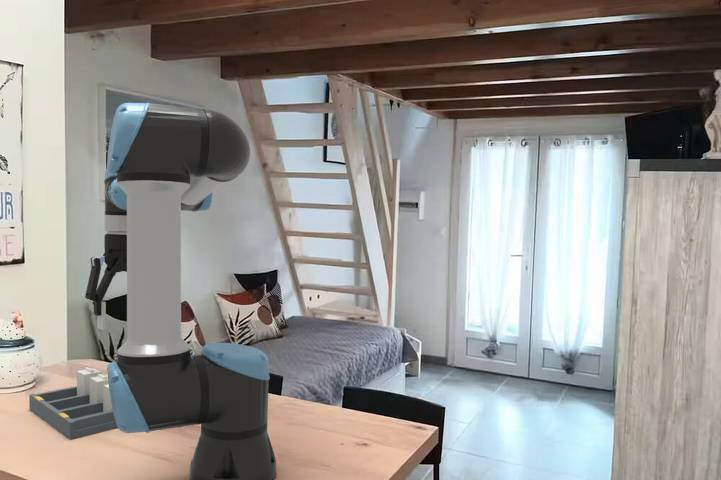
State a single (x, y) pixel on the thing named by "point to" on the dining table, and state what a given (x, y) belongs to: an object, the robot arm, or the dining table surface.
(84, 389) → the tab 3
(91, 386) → the white tall block
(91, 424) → the divided tray
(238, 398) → the robot arm
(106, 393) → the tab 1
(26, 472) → the dining table surface
